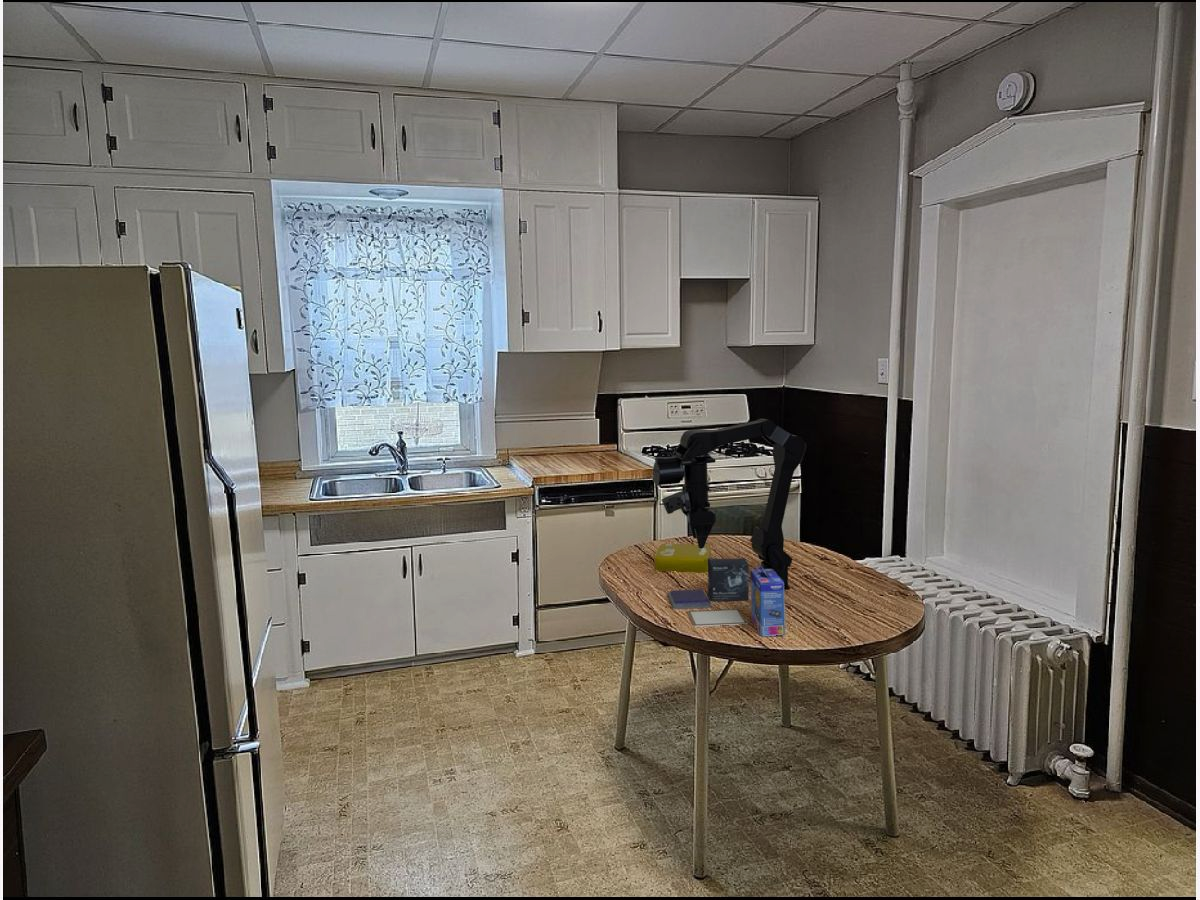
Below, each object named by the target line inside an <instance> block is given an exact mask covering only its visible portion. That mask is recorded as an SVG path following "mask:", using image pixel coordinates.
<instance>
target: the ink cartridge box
mask: <svg viewBox="0 0 1200 900" xmlns="http://www.w3.org/2000/svg"><path fill="white" fill-rule="evenodd" d="M757 564H758V566H759V567H760V568H761V569H759V568H754V569H753V568H752V569H750V570H749V571H750V596H751V597H750V599H751V600H750V601H751V603H750V606H751V607H750V608H751V610H750V611H751V622H752V623H754V624H753V625H754V627H755V629H756V628H757V629H756V631H757V632H758V634H759V636H760V637H761V636H766V637H777V636H776V635H785V636H786V617H785V616H786V615H785V614H786V612H785V589H784V582H783V580H782V579H781V578H780V577H779V576H778V575H777V574H776V572H775V571H774V570H773V569H763V568H762V567H761V563H759V562H758V563H757Z"/></svg>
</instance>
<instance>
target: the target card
mask: <svg viewBox="0 0 1200 900" xmlns="http://www.w3.org/2000/svg"><path fill="white" fill-rule="evenodd" d="M687 614H688V617H689V618H690V621H691V623H692V626H693V627H694V628H701V627H702V628H703V627H722V625H729V626H740V625H739V624H748V621H747V620H746V618H745V617H744V616H743V614H742V612H741V611H740V609H739V608H730V609H729V608H728V609H727V608H726V609H724V608H723V609H704V610H701V609H700V610H699V609H697V610H687ZM720 625H721V626H720Z"/></svg>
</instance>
